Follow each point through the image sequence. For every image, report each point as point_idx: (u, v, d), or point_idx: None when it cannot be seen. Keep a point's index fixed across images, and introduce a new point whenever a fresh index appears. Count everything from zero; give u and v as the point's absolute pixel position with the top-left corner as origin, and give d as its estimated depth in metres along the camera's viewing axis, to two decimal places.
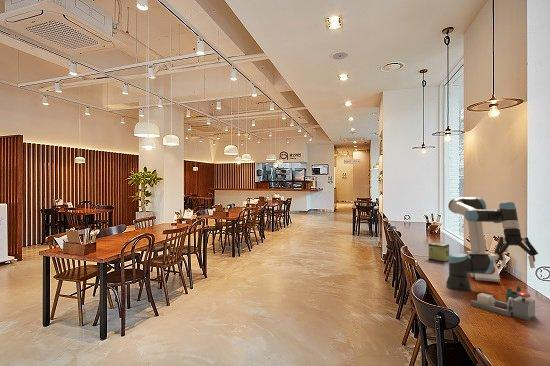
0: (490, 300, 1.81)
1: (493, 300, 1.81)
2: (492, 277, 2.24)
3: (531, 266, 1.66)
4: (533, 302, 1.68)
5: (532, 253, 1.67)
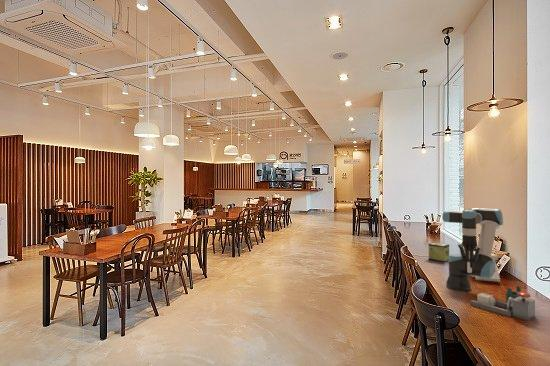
0: (490, 300, 1.81)
1: (493, 300, 1.81)
2: (492, 277, 2.24)
3: None
4: (533, 302, 1.68)
5: (470, 260, 1.90)
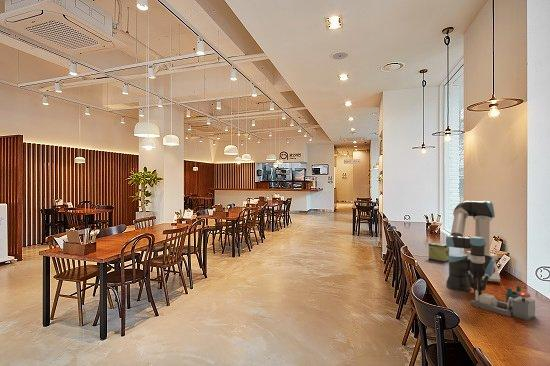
0: (492, 300, 1.80)
1: (495, 300, 1.80)
2: (492, 277, 2.24)
3: None
4: (533, 302, 1.68)
5: (479, 288, 1.86)
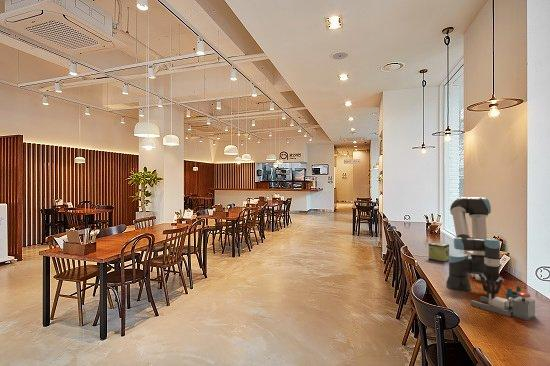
0: (506, 304, 1.74)
1: None
2: None
3: None
4: (533, 302, 1.68)
5: (492, 292, 1.80)
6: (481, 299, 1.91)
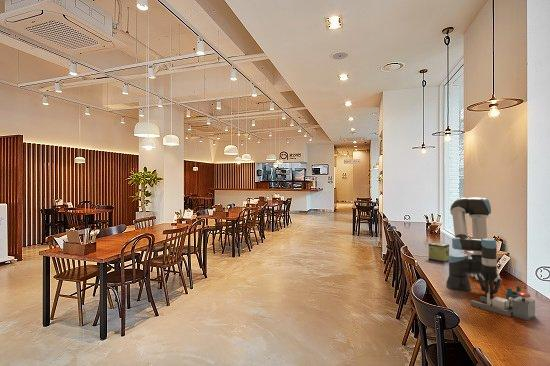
0: (506, 304, 1.74)
1: None
2: None
3: None
4: (533, 302, 1.68)
5: (490, 292, 1.82)
6: (481, 299, 1.91)
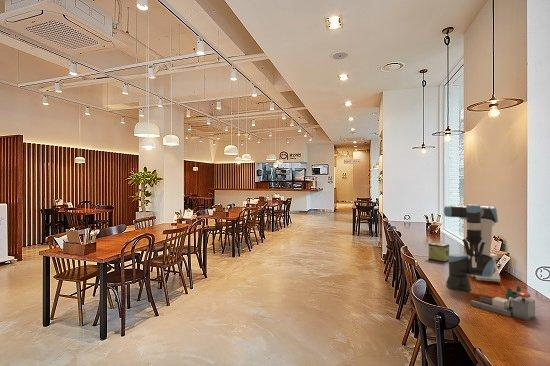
0: (506, 304, 1.74)
1: None
2: (492, 277, 2.24)
3: None
4: (533, 302, 1.68)
5: (475, 255, 1.88)
6: (481, 299, 1.91)
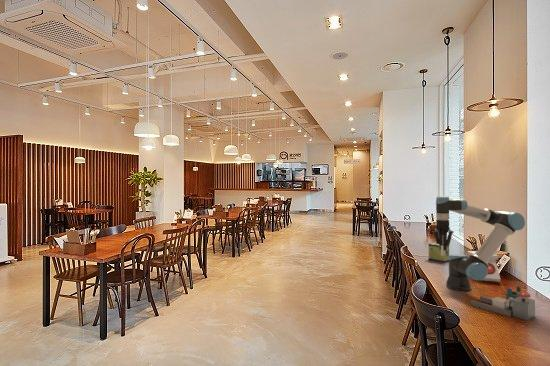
0: (506, 304, 1.74)
1: None
2: (492, 277, 2.24)
3: None
4: (533, 302, 1.68)
5: (444, 244, 2.00)
6: (481, 299, 1.91)
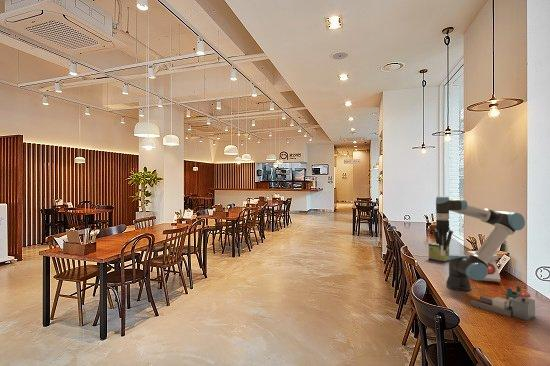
0: (506, 304, 1.74)
1: None
2: (492, 277, 2.24)
3: None
4: (533, 302, 1.68)
5: (443, 244, 2.00)
6: (481, 299, 1.91)
